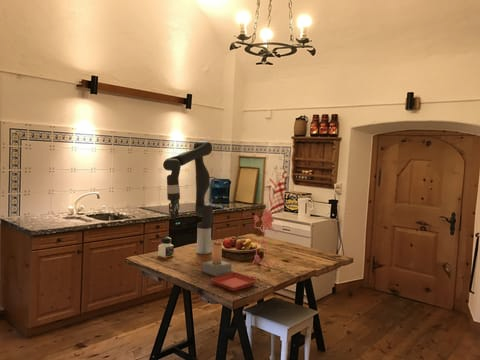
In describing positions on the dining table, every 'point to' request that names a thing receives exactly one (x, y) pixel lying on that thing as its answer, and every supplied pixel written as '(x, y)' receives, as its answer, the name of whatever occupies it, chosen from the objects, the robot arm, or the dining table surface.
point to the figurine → (267, 222)
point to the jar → (217, 253)
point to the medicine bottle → (166, 248)
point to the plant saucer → (233, 281)
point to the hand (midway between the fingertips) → (174, 218)
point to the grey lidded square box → (216, 268)
